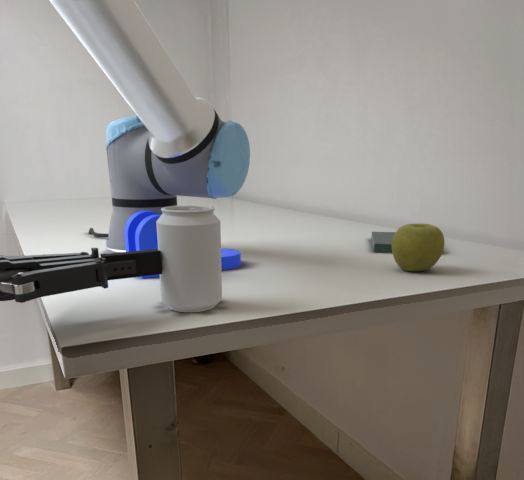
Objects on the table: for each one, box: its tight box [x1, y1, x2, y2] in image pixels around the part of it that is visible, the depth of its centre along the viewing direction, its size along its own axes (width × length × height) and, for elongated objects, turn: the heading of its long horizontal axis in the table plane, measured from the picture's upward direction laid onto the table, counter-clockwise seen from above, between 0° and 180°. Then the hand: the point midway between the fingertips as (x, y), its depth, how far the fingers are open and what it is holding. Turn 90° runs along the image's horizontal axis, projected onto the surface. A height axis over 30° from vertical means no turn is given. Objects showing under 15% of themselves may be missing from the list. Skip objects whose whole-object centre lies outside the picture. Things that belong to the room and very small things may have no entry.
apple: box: [392, 223, 445, 272], centre depth 87 cm, size 8×8×7 cm
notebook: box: [370, 231, 396, 254], centre depth 110 cm, size 12×16×2 cm
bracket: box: [124, 210, 242, 279], centre depth 89 cm, size 18×8×9 cm, turn 118°
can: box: [156, 205, 223, 313], centre depth 67 cm, size 8×8×12 cm
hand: (158, 261), depth 65 cm, fingers closed
